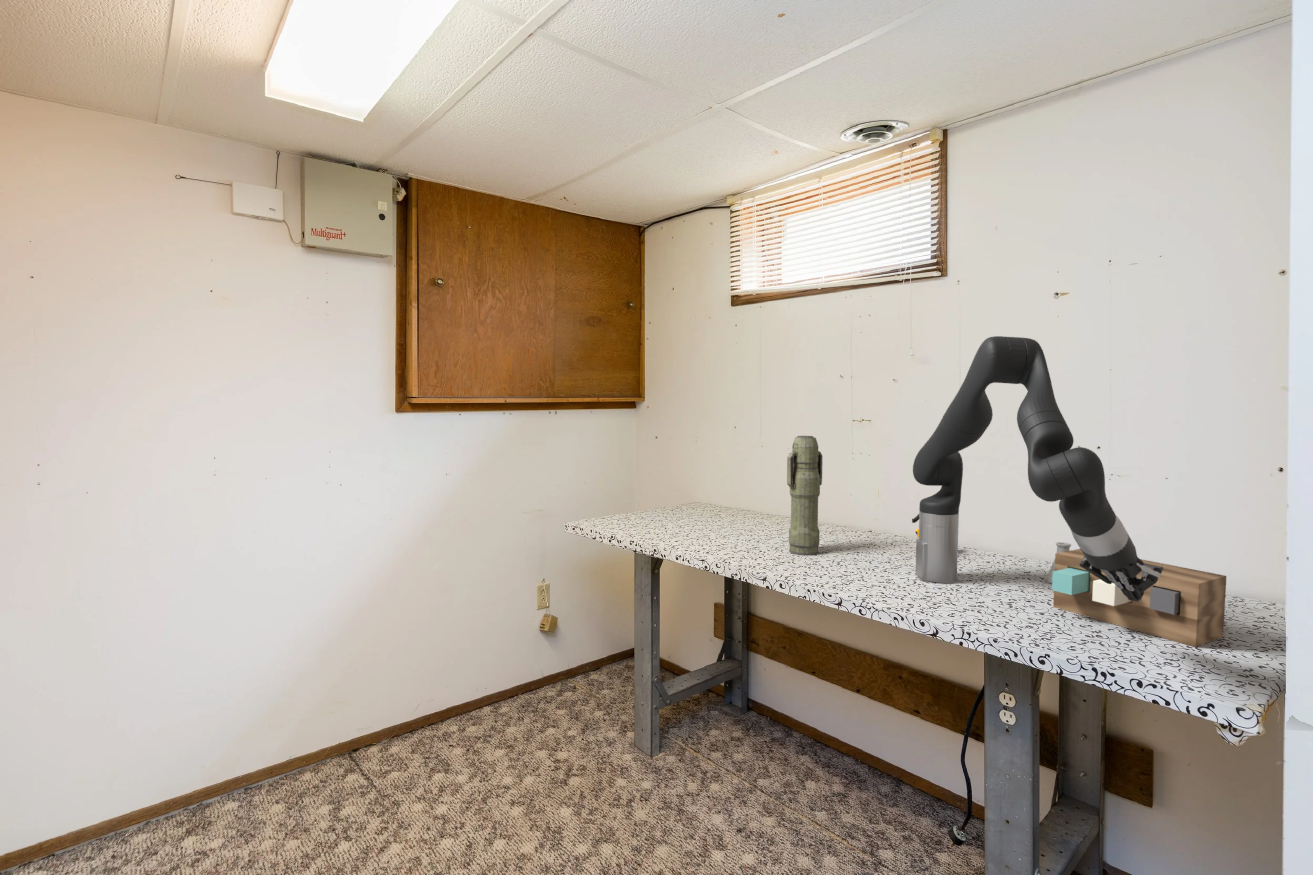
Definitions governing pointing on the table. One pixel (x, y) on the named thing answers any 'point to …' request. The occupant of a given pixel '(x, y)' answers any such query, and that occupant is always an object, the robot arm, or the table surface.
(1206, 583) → the block
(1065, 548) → the flask
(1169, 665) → the table surface
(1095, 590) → the key ivory
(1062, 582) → the key teal
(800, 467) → the thermos
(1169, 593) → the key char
